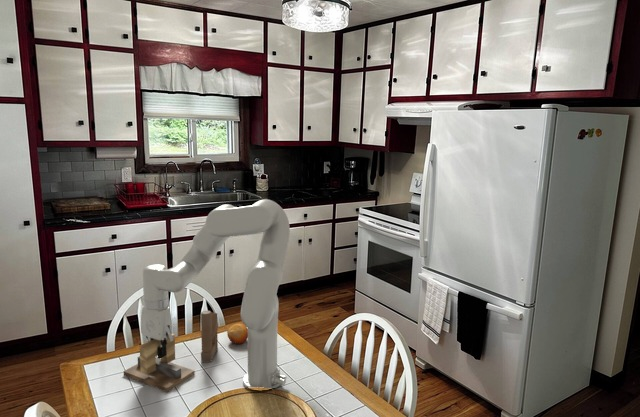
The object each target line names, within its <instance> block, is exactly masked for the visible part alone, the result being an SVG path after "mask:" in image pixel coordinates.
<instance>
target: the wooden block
mask: <svg viewBox="0 0 640 417" xmlns="http://www.w3.org/2000/svg"><path fill="white" fill-rule="evenodd" d="M200 324H201V325H200V330H201V332H200V333H201V335H200V336H201V337H200V338H201V352H200V362H201V363H212V361H213V360H214V357H215V355H216V352H217V350H218V348H219V347H218V346H219V344H218V339H219V338H218V313H217V312H212V311H211V310H203V311H201V312H200Z"/></svg>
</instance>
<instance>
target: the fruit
mask: <svg viewBox="0 0 640 417" xmlns="http://www.w3.org/2000/svg"><path fill="white" fill-rule="evenodd" d="M226 333H227V338H228V340H229V341H230V342H231V343H233V344H238V345H242V344H245V343H246V342H247V341H248V328H247V327H246V326H245V325H244V323H235V324H233V325H231V326H230V327H229V328H228V329H227V332H226Z"/></svg>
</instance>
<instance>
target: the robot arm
mask: <svg viewBox="0 0 640 417" xmlns="http://www.w3.org/2000/svg"><path fill="white" fill-rule="evenodd" d="M290 228H291V227H290V221H289V217H288V215H287V213H286V212H285V210H284V209H283V207H281V206H280V204H278V203H277V202H276V201H274V200H271V199H268V198H267V199H266V198H265V199H261V200H258V201H256V202H254V203H253V204H252V205H246V206H239V207H237V206H235V205H232V204H228V203H227V204H222V205H220V206H218V207H216V208H214V209H213V210H211V211H210V212H209V213H208V215H207V216H206V218H205V223H204V224H203V225H202V227H201V228H200V229H199V230H198V231H197V232H196V234H195V235H194V237H193V239H192V245H191V247H190V249H189V250H188V252H187V253H186V254H184V256H183V257H182V258H181V260H180V261H179V262H178V263H177V264H175V265H174V266H173V267H170V268H167V266H166V265H163V264H159V263H156V264H150V265H146V266H145V267H144V268H143V270H142V288H143V290H142V291H143V305H142V309H141V314H140V333H141V334H142V336H145V338H146V340H147V342H149V341H151V340H153V339H156V340H158V344H159V347H157V348H158V356H157V358H159V359H161V358H162V357H164V356H166V345H167V344H168V343H169V342H171V341H173V337H172V334H173V322H172V320H173V319H172V315H171V309H170V306H169V305H170V304H169V293H179V292H182V291H183V290H184V289H185V288H186V287H188V286H189V285H190V284H191V283H192V282H193V281H194V280H195V279H196V278H197V277H198V276H199V274H200V273H201V272H202V271H203V269H204V268H205V267H206V266H207V265H208V264H209V262H210V261H211V260H212V258H214V256H215V255H217V253H218V251H219V250H220V249H221V247H223V245H224V244H225V243H226V241H228V239H229V238H231V237H240V236H249V235H257V234H261V233H262V236H261V240H260V244H259V250H258V255H257V259H256V261H255V264H254V266H253V267H252V268H251V270H250V271H249V273H248V275H247V278H246V282H245V286H244V292H243V297H242V302H241V307H240V319H241V322H242V324H244V325H245V326H246V327H247V329H248V337H247V373H246V374H244V376H243V378H242V384H243V386H244V387H245V388H246V387H264V388H275V389H276V388H278V387H279V386H285V385H286V383H287V382H286V380H287V375H284V374H282V373H281V369H280V368H278V320H279V298H278V295H277V293H278V289H279V286H280V284H281V282H282V280H283V276H284V269H285V268H284V267H285V264H286V259H287V258H286V257H287V253H288V252H287V251H288V246H289V241H290V232H291V230H290ZM163 339H164V341H163V342H162V340H163Z"/></svg>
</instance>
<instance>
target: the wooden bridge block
mask: <svg viewBox="0 0 640 417" xmlns="http://www.w3.org/2000/svg"><path fill="white" fill-rule="evenodd" d="M172 337H173V341H171V342H169V343H168V344H167V345H166V356H164V357H162V358H160V359H161V361H162V362H165V363H169V362H170V363H172V362H173V361H174V360H176V338H175V337H176V335H175V333H172ZM163 341H164V339H163V340H162V342H163ZM157 347H159V344H158V340H156V339H153V340H151V341H149V342H148V341H147V342H145V343H143V344H141V345H140V346H139V356H140V368H141V373H144V374H147V375H148V374H149V373H151V372H153V371H155V370H156V358H157V357H158V348H157Z"/></svg>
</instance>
